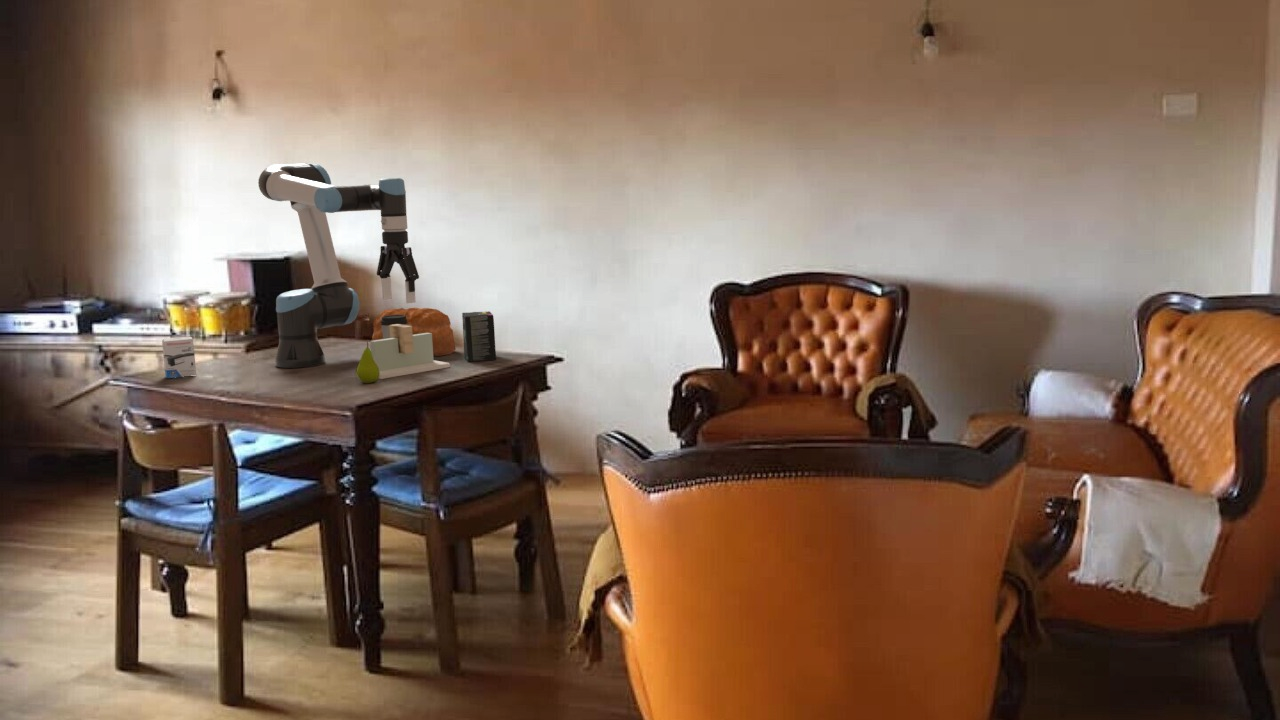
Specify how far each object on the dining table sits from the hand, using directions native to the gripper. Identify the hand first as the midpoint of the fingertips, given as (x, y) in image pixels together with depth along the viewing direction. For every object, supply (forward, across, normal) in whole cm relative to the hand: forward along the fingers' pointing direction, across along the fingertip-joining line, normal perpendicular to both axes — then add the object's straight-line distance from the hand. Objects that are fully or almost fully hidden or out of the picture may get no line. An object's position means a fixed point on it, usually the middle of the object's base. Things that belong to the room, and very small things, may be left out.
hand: (399, 301), depth 333 cm
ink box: (+22, -45, -50) cm, 71 cm away
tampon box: (+21, +3, +26) cm, 34 cm away
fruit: (+21, +11, -18) cm, 30 cm away
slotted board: (+21, +2, -1) cm, 21 cm away
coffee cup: (+21, -10, +4) cm, 24 cm away
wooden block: (+15, +2, -1) cm, 15 cm away
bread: (+22, -23, +18) cm, 37 cm away
